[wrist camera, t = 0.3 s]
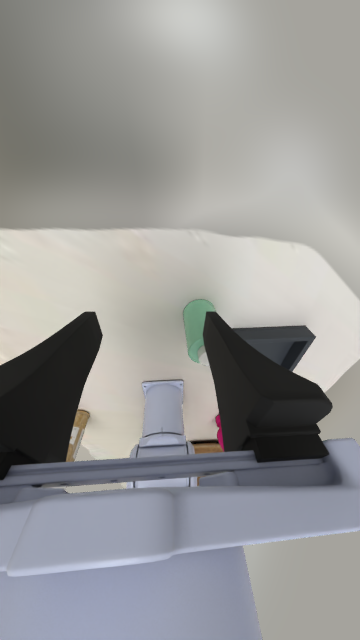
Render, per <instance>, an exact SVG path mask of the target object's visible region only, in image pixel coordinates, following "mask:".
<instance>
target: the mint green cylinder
mask: <svg viewBox="0 0 360 640" xmlns="http://www.w3.org/2000/svg"><path fill="white" fill-rule="evenodd" d="M206 311H215V312H216V310H215V308H214V306H213V304H212V303H211V302H209V301H207V300H202V299H200V300H195V301H192V302H190V303H189V304H188V305H187V306H186V307H185V309H184V312H183V317H184V325H185V332H186V340H187V348H188V355H189V357H190V358H191V359H192V360H193V361H194V362H197V363H200V364H202V365H205V366H210V365H209V361H208V358H207V354H206V351H205V347H204V341H203V328H204V322H205V316H206Z"/></svg>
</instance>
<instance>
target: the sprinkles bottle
mask: <svg viewBox="0 0 360 640" xmlns="http://www.w3.org/2000/svg"><path fill="white" fill-rule="evenodd" d="M88 418H89V414H88V413H87V412H85V411H80V410H77V413H76V417H75V421H74V425H73V429H72V434H71V438H70V443H69V448H68V453H67V458H66V462H74V460H75V458H76V455H77V452H78V449H79V446H80V443H81V440H82V437H83V434H84V430H85V426H86V423H87V421H88ZM66 487H67V486H66ZM66 487H52V488H62V489H64V490H66Z"/></svg>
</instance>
